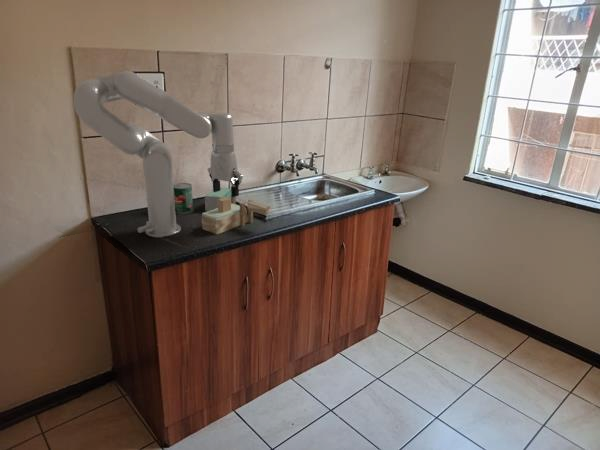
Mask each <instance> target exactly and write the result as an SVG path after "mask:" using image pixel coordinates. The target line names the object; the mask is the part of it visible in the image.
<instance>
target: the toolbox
mask: <svg viewBox="0 0 600 450" xmlns="http://www.w3.org/2000/svg"><path fill="white" fill-rule="evenodd" d="M236 197H237V196H236ZM236 197H232V196H231V204H236V205H237V201H236ZM222 198H225V197H222ZM250 201H254V200H253V199H248V200H247V203H248V202H250ZM239 206H240V213H237V214H234V215H231V216H228V217H225V218H223V219H220V220H217V221H216V220H213V219H210V218H207V217H204V216H202V215H201V229H202V230H204V231H207V232H208V233H209V232H210V233H212V234H215V235H219V234H222V233H224V232H227V231H229V230H233V229H234V228H237V227H240V226H241V227H245V226H246V224H247V223H249V224H253V223H254V212H253V211H250V210H248V209H246V210H245V208H246V203H245V202H243V201H241V202H239Z"/></svg>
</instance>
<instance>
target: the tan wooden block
mask: <svg viewBox="0 0 600 450" xmlns="http://www.w3.org/2000/svg"><path fill="white" fill-rule="evenodd" d="M248 210H250V211H253V213H256V214H259V215H263V216H268V215H270V214H271V206H270V205H268V204H265V203H262V202H261V203H260V202H258V201H254V200H253V201H250V202H248V201H247V211H248Z"/></svg>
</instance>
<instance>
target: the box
mask: <svg viewBox="0 0 600 450" xmlns="http://www.w3.org/2000/svg"><path fill="white" fill-rule="evenodd" d="M220 189H221V190H220V191H217V192H213V190H212V191H211V192H209V193H207V194H205V195H204V205H205V207H204V209H205V210H204V211H205V212H208V211H211V210H214V209H217V208H218V199H221V198H222V197H227V198H230V199H231V188H223V187H220Z"/></svg>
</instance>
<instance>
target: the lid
mask: <svg viewBox="0 0 600 450" xmlns="http://www.w3.org/2000/svg"><path fill="white" fill-rule="evenodd" d="M245 210H247V207H245ZM237 213H240V204H239V205H238V204H237V203H236V204H231V199H230V198H227V197H225V198H221V199H218V208H217V209H214V210H211V211H205V212H202V213H201V217H202V216H204V217H207V218H210V219H213V220H216V221H217V220H220V219H223V218H225V217H228V216H231V215H234V214H237Z"/></svg>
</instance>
